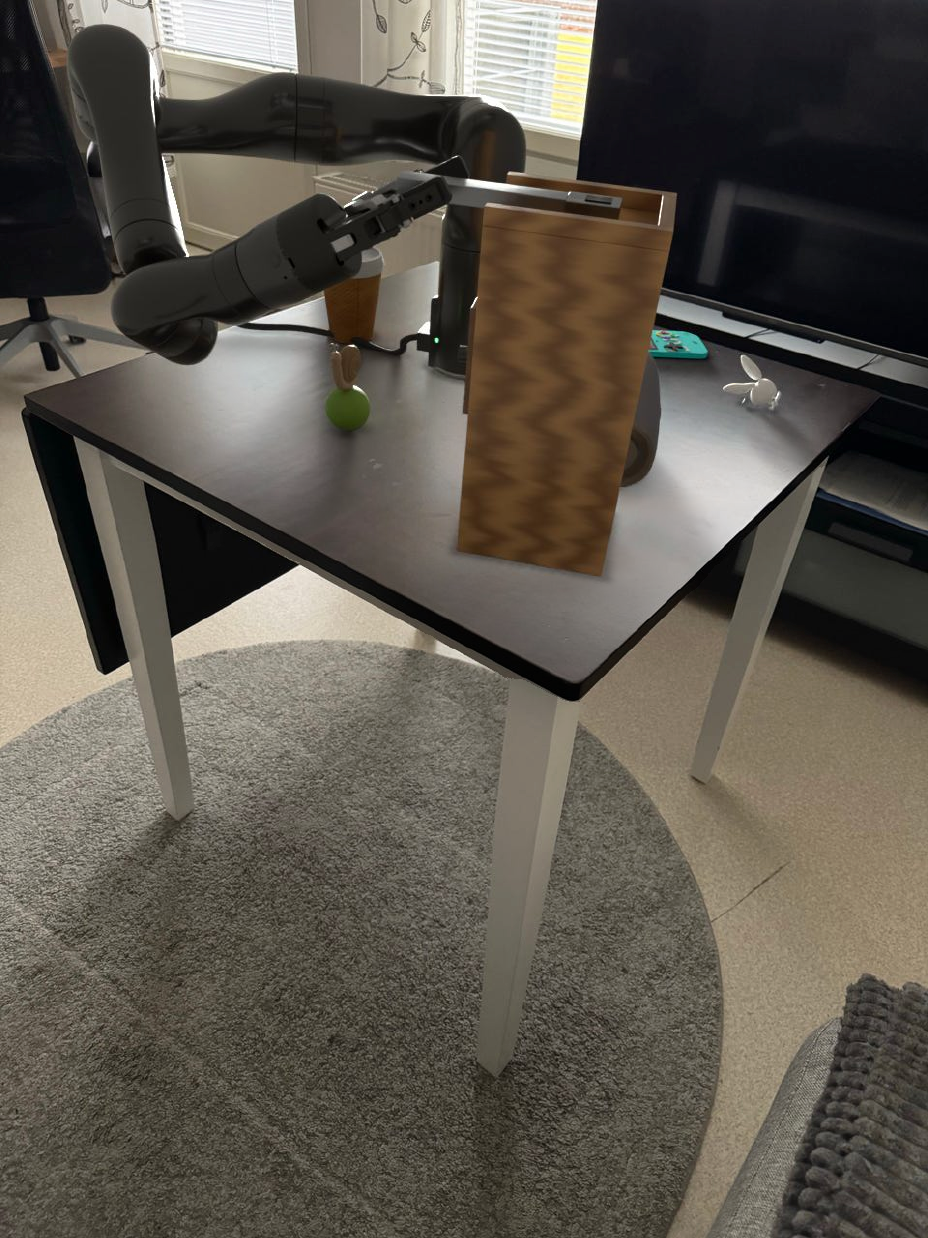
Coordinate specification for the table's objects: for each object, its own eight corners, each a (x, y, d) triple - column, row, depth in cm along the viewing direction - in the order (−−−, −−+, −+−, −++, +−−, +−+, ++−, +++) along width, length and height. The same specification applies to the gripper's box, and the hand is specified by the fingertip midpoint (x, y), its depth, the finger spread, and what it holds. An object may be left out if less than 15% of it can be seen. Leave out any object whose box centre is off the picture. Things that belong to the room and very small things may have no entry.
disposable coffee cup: (328, 319, 139) (326, 237, 131) (389, 327, 138) (391, 245, 130) (311, 343, 131) (308, 258, 124) (376, 352, 131) (377, 266, 123)
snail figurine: (314, 435, 110) (310, 339, 103) (337, 414, 115) (336, 320, 108) (355, 445, 109) (354, 349, 102) (377, 423, 114) (378, 330, 106)
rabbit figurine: (772, 418, 123) (726, 382, 122) (757, 427, 127) (712, 393, 126) (793, 385, 124) (747, 349, 124) (778, 395, 128) (733, 361, 127)
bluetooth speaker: (650, 503, 104) (668, 423, 97) (568, 491, 105) (581, 411, 98) (653, 415, 121) (669, 342, 115) (583, 405, 122) (595, 332, 116)
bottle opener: (394, 198, 78) (395, 176, 77) (404, 188, 80) (405, 167, 79) (616, 227, 76) (620, 206, 75) (619, 217, 78) (622, 196, 77)
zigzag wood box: (441, 548, 94) (464, 203, 73) (464, 490, 103) (491, 168, 82) (601, 577, 92) (673, 231, 71) (611, 515, 101) (677, 192, 80)
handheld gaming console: (710, 351, 136) (611, 348, 135) (708, 358, 137) (610, 355, 136) (695, 330, 143) (601, 326, 141) (693, 336, 144) (600, 332, 142)
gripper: (342, 267, 92) (490, 198, 85) (293, 318, 81) (458, 243, 74) (304, 193, 88) (455, 115, 81) (247, 236, 77) (416, 149, 70)
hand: (456, 176), depth 77 cm, fingers open, 7 cm apart
